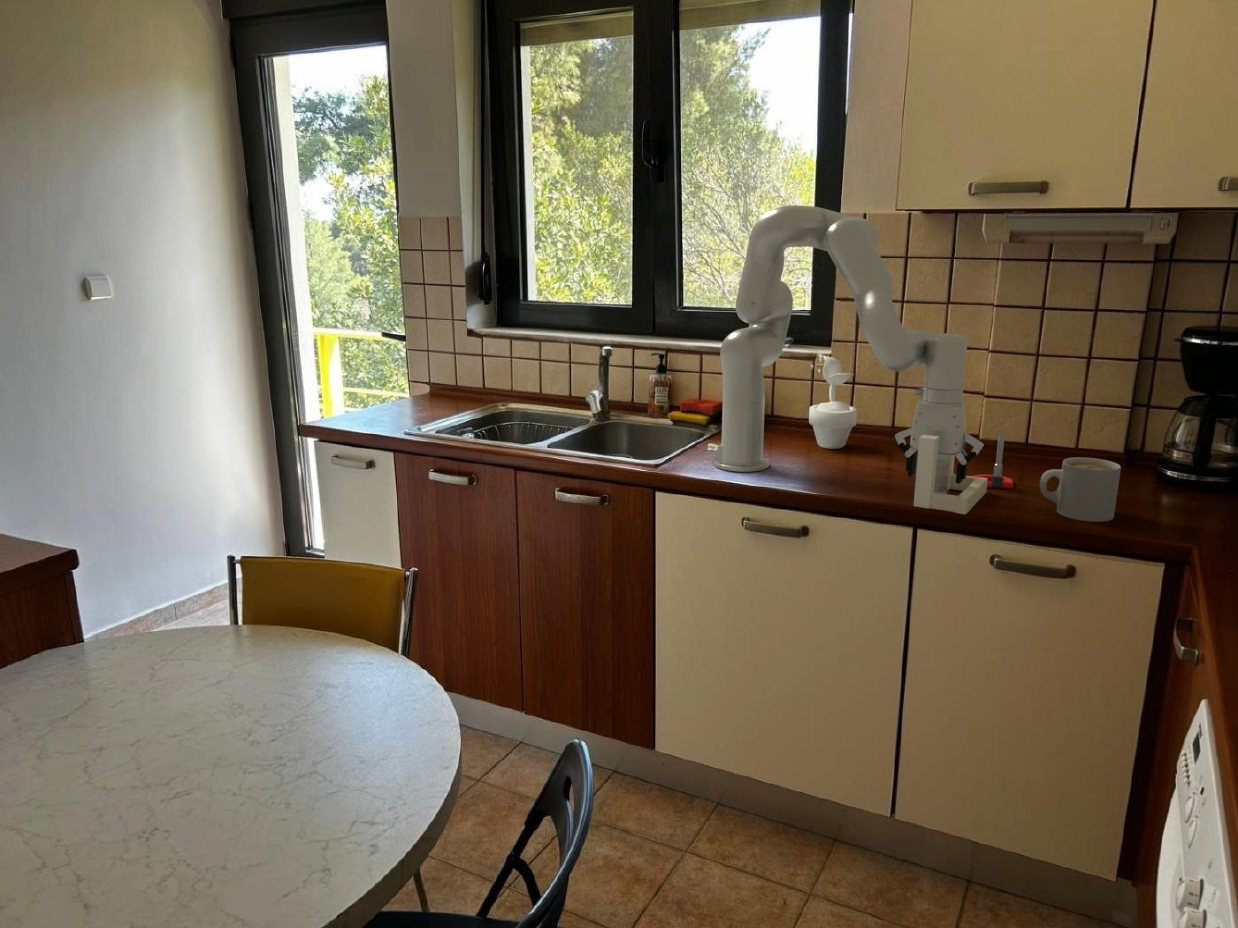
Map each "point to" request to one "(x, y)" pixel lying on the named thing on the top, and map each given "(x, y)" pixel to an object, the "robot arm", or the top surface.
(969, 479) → the white open frame stand
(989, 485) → the grey red t-shaped piece
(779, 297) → the robot arm
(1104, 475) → the coffee mug
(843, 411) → the potted plant
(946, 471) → the grey upright block
